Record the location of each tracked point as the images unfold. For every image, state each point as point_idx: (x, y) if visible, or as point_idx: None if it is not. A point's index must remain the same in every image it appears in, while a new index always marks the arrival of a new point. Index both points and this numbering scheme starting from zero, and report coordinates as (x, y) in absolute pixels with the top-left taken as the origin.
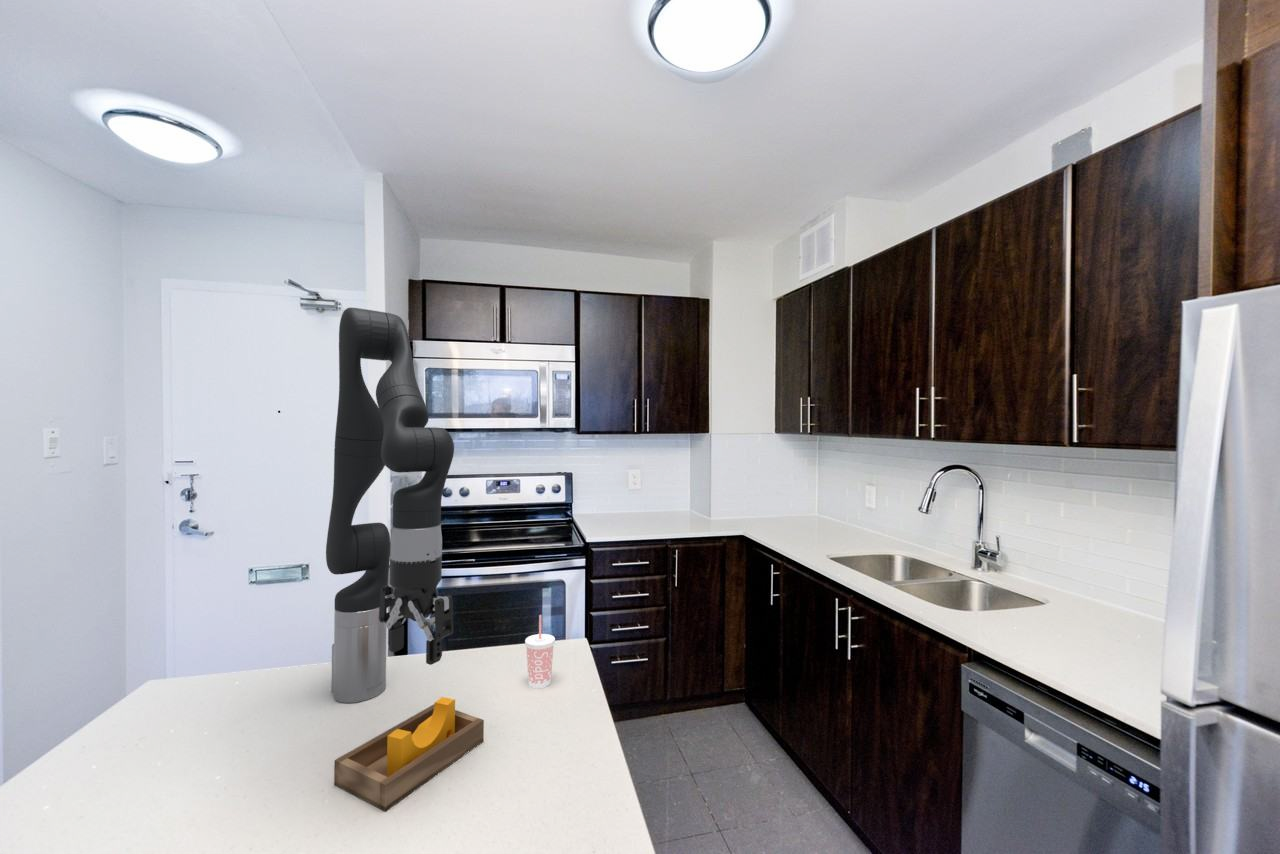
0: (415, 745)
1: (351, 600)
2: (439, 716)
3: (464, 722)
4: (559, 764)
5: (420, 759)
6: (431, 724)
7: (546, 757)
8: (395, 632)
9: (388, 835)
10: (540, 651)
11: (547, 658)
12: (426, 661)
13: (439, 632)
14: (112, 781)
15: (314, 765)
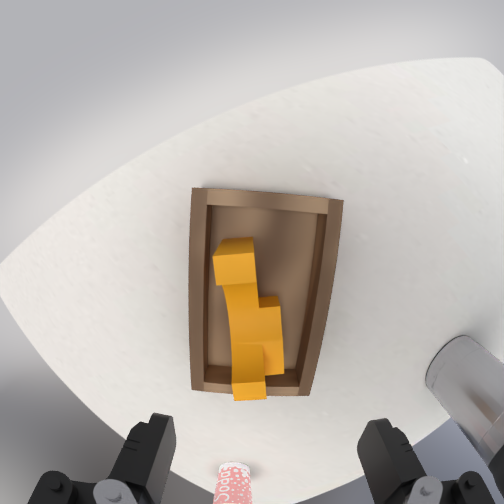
0: (244, 299)
1: None
2: (246, 364)
3: (225, 379)
4: (83, 354)
5: (194, 268)
6: (256, 349)
7: (102, 362)
8: (390, 479)
9: (158, 159)
10: (219, 501)
11: (215, 494)
12: (164, 419)
13: (41, 491)
14: None
15: (395, 222)
